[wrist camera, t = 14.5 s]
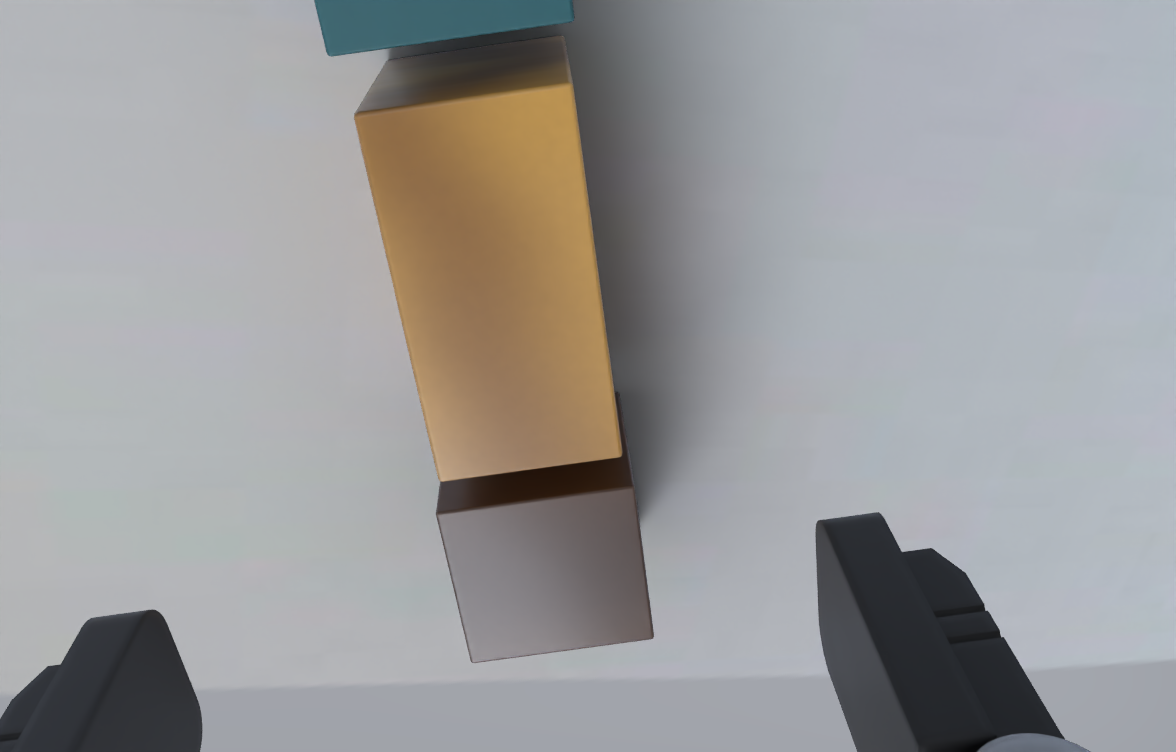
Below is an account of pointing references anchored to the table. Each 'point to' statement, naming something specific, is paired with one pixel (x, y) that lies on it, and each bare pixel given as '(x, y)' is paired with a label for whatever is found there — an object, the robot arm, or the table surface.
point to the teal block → (428, 20)
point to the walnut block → (547, 557)
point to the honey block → (493, 255)
